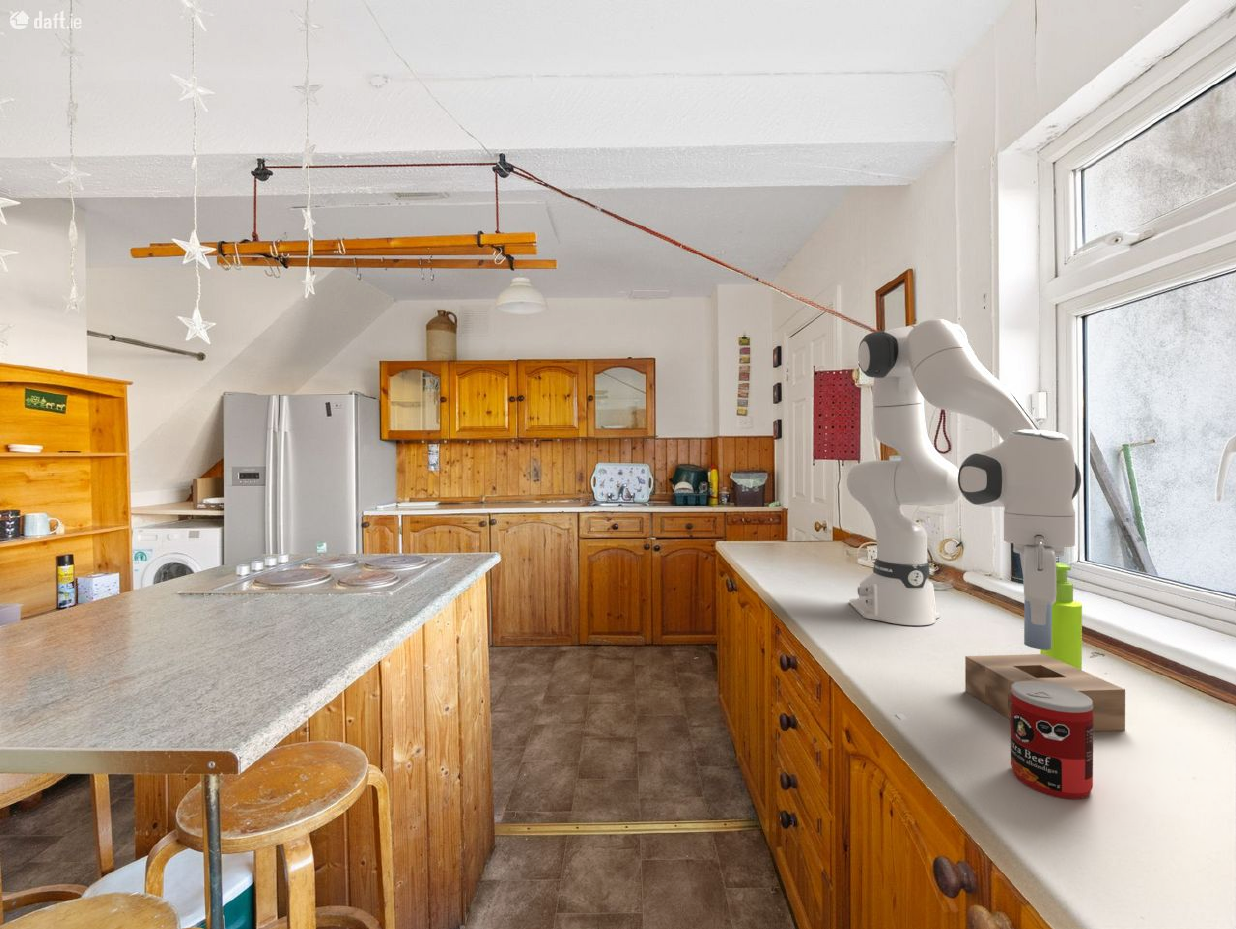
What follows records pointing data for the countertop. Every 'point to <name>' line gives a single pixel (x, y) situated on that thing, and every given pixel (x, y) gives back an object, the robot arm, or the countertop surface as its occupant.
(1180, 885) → the countertop surface
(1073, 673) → the socket block
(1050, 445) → the robot arm
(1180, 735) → the countertop surface
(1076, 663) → the soap dispenser
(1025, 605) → the dowel
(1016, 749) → the canned food
